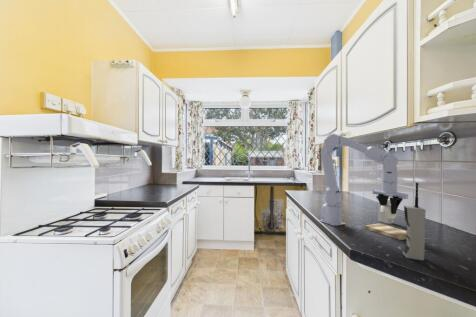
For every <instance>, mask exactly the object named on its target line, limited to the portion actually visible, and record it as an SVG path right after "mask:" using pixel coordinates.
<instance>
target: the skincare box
mask: <svg viewBox="0 0 476 317" xmlns="http://www.w3.org/2000/svg"><path fill="white" fill-rule="evenodd" d="M389 198H390V197H389ZM389 198H388V201H387V205H391V202H390V199H389ZM378 211H381V205H380V203H379V202H378ZM377 221H379V222H381V223H384V224H386V225H387V224H389V225H390V224H395V218H390V219H386V218H381V214H380V213H378V214H377Z"/></svg>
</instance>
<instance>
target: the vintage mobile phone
mask: <svg viewBox="0 0 476 317" xmlns="http://www.w3.org/2000/svg"><path fill="white" fill-rule="evenodd" d="M403 209H404V210H403V212H404V221H405V223H406V231H407V233H406V239H405V241H406V242H405V246H404V248H403V250H402V254H403V255H404V256H405V258H406V259H410V260H411V259H412V260H418V261H425V248H426V247H425V245H426V244H425V241H426V209H425V208H423V207H421V206H419V182H415V196H414V206H412V205H403Z"/></svg>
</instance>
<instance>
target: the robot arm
mask: <svg viewBox="0 0 476 317" xmlns="http://www.w3.org/2000/svg"><path fill="white" fill-rule="evenodd" d="M341 147H349V148H352V149H353V150H355V151H358V152H361V153H362V154H363V155H364V156H365V158H367V159H369V160H370V161H373V162H375V163H377V164H381V165H382V171H381V172H382V173H381V174H382V175H381V189H372V192H371V193H372V195H376V199H377V200H378V201H377V202H378V204H379V203H380V205H387V201H388V198H389V199H390V202H391V214H396V211H397V212H398V208H399V207H400V205H401V203H402V201H403V200H408V199H409V194H407V193H402V192H398V177H399V176H398V173H399V172H398V164H399V160H398V157H397V156H395V155H394V154H393V153H392V154H390V152H389V151H384V150H382V149H380V148H379V147H378V146H376V145H375V146H373V145H372V146H371V145H370V146H365V144H364V145H363V144H361V143H359V142H357V141H355V140H353V139H351V138H348V137H345V136H341V135H338V134H335V133H331V134H329V135H328V136H326V138H324V140H323V145H322V148H321V149H320V157H321V158H320V159H321V162H322V168H323V174H324V180H325V185H326V188H325V197H324V200H325V201H324V202H325V203H324V204H322V206H321V212H320V219H319V221H320V222H322V223H324V224H327V225H331V226H332V227H333V226H342V225H343V226H344V225H346V223H345V222H343V221H342V212H343V210H342V209H343V205H342V204H341V203H342V201H343V199H344V197H343V193H341V190H340V188H339V186H338V182H337V178H336V171H335V166H334V165H335V164H334V161H333V155H334V153H335V151H336V150H338V149H339V148H341Z"/></svg>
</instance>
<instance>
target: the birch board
mask: <svg viewBox="0 0 476 317" xmlns="http://www.w3.org/2000/svg"><path fill="white" fill-rule="evenodd" d="M364 229H365V230H367V231H371V232H375V233H377V234H380V235H383V236H387V237H390V238H392V239H395V240H398V241H403V240H406V233H407V230H404V229H401V228H396V227H393V226H391V225H387V224H383V223H379V222H378V223H374V224H367V225H364Z"/></svg>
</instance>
